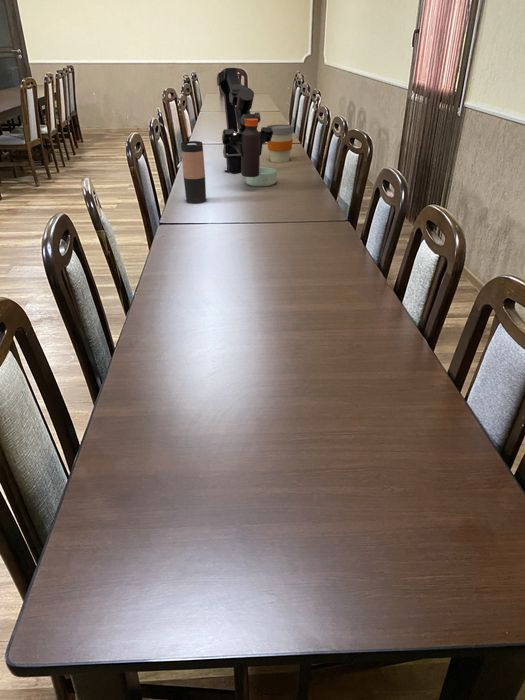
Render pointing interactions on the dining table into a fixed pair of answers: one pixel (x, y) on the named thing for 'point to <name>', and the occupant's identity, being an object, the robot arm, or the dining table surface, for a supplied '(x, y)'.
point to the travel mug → (193, 171)
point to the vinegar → (250, 149)
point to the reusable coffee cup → (280, 143)
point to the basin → (263, 177)
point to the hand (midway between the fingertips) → (251, 155)
